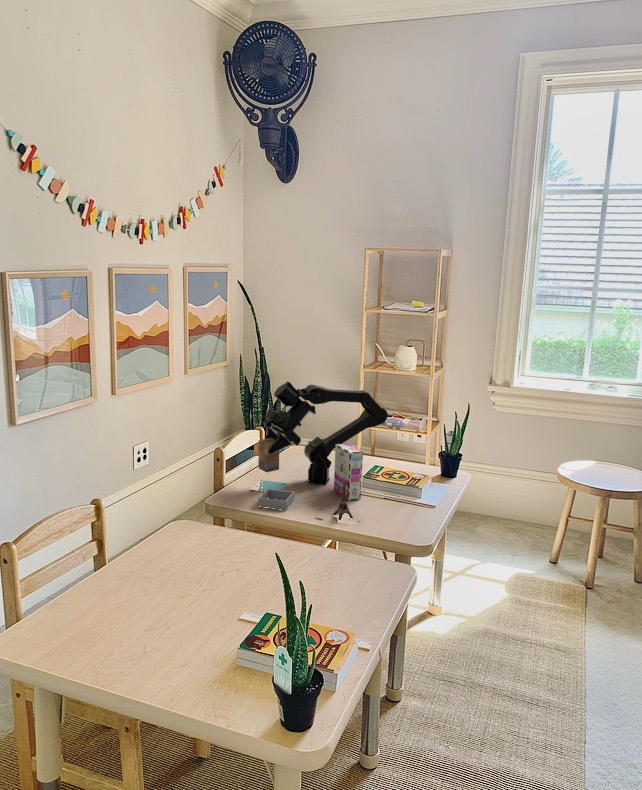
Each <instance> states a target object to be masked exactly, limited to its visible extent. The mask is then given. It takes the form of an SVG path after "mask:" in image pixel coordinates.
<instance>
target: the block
mask: <svg viewBox="0 0 642 790" xmlns="http://www.w3.org/2000/svg"><path fill="white" fill-rule="evenodd" d="M274 442H275V439H273V438H267V439H265V438H264V439H258V469H259V470H261V471H262V472H265V473H271V472H275V471H279V470H280V450H278V451H276V452H273V453H271V454H270V453H268V451H269V449H270V448H271V446H272V445H273V443H274Z"/></svg>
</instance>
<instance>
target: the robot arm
mask: <svg viewBox="0 0 642 790" xmlns="http://www.w3.org/2000/svg"><path fill="white" fill-rule="evenodd" d="M273 396H274V397H275V399H277V400H278V401H279V402H280V403H281V404H282V405H283V406H284V407H290V408H289V409H288V410H287V411H286V410H284V411H281V410H277V411H276V410H273V409H270V408H268V409H267V412H266V414H265V416H264V418H265V419H264V421H263V422H262V424H263V425H264V426H265V428H266V434H265V437H264V439H267V438H273V439H275V442H274V443H273V445H272V446H271V448H270V449H269V451H268V453H270V454H271V453H273V452H276V451H278V450H279V451H280V450H282V449H285V448H286V447H288V446H292V445H294V446H297V447H298V446H299V444H301V441H302V440H301V438H302V437H300V436H299V435H298V433H296V432H295V431H294V430H295V429H296V428H297V427H302V425H303V424H302V423H301V422H302V421H303V420H304V418H305V417H306V416H307V415H308V414H309V413H311V414H313V415H316V414H317V413H316V406H315V405H321V404H323V405H324V404H327V403H331V402H338V403H339V402H341V403H342V402H343V403H360V406H361V407H362V409H364V410H363V411H362V412H361V413H360V415H359V417H357V418H356V419H354V420H353V421H351V422H350V423H348V424H347V425H345V426H343V427H342V428H340V429H339V430H337V431H335V432H334V433H332V434H330V435H329V436H327V437H325V438H323V439H321V438H320V437H319V436H316V437H315V438H314V439H312V440H310V441H308V442H307V444H306V445H305V446H304V450H303V452H304V455H305V457H306V458H307V459H308V461H309V462H310V465H309V468H308V471H307V474H308V475H307V480H308V481H307V483H308V484H315V485H323V486H324V485H327V484H328V483H329V481H330V479H331V478H330V468H331V466H332V461H331V460H330V459H329V458H328V457H329V456H330V454H331V453H332V452H333V450H335V447H336V444H345V442H347V441H349V440H350V439H352V438H354V437H355V436H357V435H358V434H360V433H362V432H363V431H365V430H366V429H369V428H374V427H378V426H380V425H381V424H382V425H383V424H384V423H386V422H387V420H388V411H387V410H386V409H385V408H383V407H381V405H379V403H377V401H376V400H374V398H373V397H372V396H371V394H370V393H369V392H368V391H366V390H363V389H361V390H348V389H331V388H327V387H324V386H319V385H316V384H308V385H307V386H306V387H305V388H301V389H297V388H296V387H294V385H293V384H292V383H291V382H290V381H286V382H285V383H283V384H281V385H280V386H278V387H277V388H276V390H275V391H274V393H273ZM310 403H311V404H310Z"/></svg>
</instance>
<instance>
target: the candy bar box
mask: <svg viewBox="0 0 642 790" xmlns="http://www.w3.org/2000/svg"><path fill="white" fill-rule="evenodd" d="M334 451H335V453H334V471H333V472H334V476H333V491H334V492H335V493H336V494H338V495H339V496H341V497H342V492H343V481H344V477H345V495H346V501H348V502H350V501H358V500H361V497H362V496H361V495H362V474H363V458H364V457H363V455H364V451H362V450H360V449H359V448H357V447H354V446H353V445H351V444H349V443H342V444H336V447H335V449H334Z"/></svg>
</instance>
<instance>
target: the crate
mask: <svg viewBox="0 0 642 790" xmlns="http://www.w3.org/2000/svg"><path fill="white" fill-rule="evenodd" d="M295 495H296V493H295V491H292V490H291V491H290V490H284V489H282V490H274V489H267V490H266V491H265V492H262V494H261V495H260V496H259V497H258V500H257V501H258V502H257V503H258V504H257V505H258V506H261V507H269V508H275V509H282V510H281V511H284V510H287V511H288V509H289V508H290V507H291V506H292V504H293V503H294V502H295ZM268 497H269V498H268ZM267 498H268V499H267ZM270 498H277V499H270ZM279 499H283V500H279ZM293 501H294V502H293ZM292 502H293V503H292ZM290 505H291V506H290ZM258 506H257V507H258ZM289 506H290V507H289ZM288 507H289V508H288ZM275 509H274V510H275Z"/></svg>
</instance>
